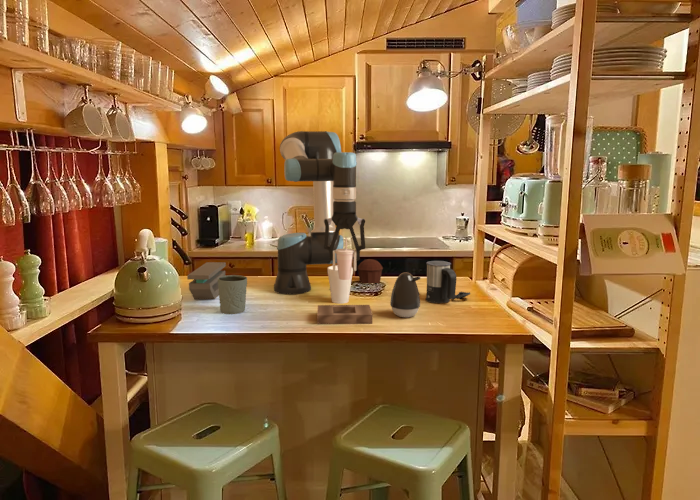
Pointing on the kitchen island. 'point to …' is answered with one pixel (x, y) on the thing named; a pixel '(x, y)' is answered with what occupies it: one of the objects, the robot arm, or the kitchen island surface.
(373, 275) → the muffin
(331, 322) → the bottle holder
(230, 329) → the kitchen island surface
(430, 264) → the milk frother
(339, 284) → the foam cup
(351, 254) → the smoothie
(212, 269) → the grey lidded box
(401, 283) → the pump dispenser
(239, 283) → the embossed green cup
